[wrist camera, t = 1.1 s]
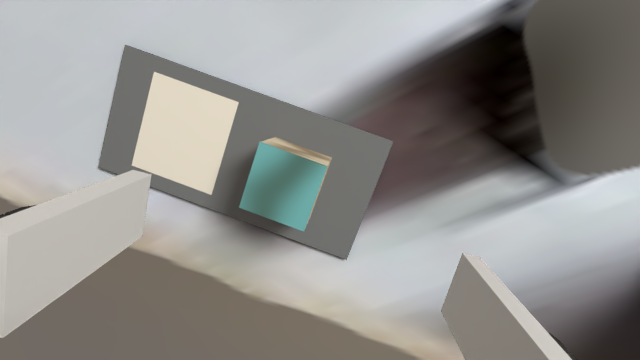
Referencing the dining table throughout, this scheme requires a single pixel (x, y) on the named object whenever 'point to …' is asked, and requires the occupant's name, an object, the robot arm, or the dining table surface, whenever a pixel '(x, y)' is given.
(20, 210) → the robot arm
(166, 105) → the charcoal mat
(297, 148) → the birch block
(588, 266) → the dining table surface
